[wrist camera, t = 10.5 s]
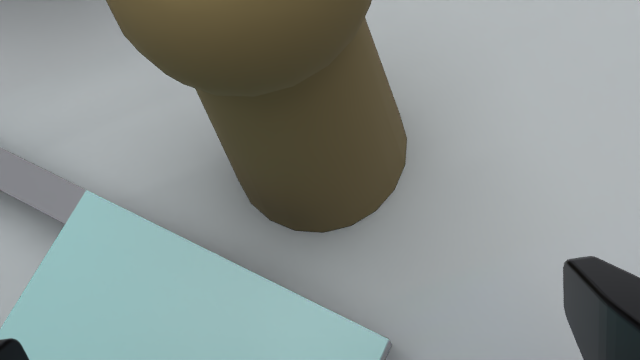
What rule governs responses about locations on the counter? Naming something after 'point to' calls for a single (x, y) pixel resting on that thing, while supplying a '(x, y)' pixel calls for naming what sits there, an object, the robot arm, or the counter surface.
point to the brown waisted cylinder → (284, 99)
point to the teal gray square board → (156, 292)
